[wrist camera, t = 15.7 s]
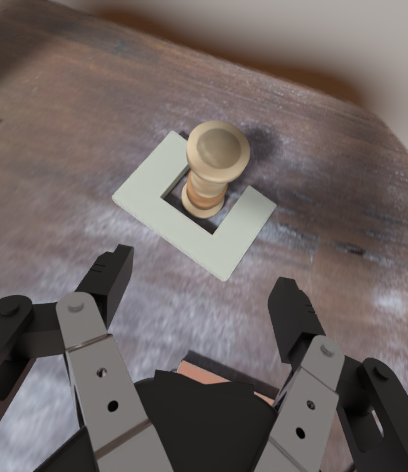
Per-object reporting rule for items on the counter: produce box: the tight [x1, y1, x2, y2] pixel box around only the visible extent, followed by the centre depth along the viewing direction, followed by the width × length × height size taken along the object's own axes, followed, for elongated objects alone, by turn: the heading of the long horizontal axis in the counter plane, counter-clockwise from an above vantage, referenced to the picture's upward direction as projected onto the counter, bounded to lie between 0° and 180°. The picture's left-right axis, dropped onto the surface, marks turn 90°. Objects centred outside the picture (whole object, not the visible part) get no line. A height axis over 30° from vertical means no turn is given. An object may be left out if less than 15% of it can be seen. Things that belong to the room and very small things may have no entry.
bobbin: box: [181, 120, 250, 219], centre depth 27 cm, size 6×6×12 cm
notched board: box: [112, 130, 277, 282], centre depth 32 cm, size 17×12×2 cm
